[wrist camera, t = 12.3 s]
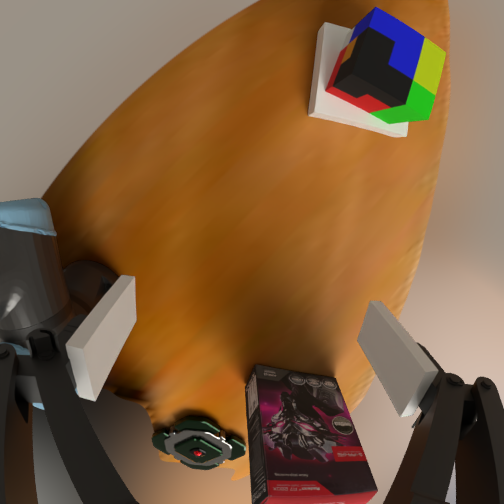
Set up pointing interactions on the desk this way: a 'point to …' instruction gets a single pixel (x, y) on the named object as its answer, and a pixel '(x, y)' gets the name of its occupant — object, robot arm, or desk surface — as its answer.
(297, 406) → the graphics card box
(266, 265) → the desk surface
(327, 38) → the plinth
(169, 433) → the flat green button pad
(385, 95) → the puzzle toy
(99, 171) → the desk surface
